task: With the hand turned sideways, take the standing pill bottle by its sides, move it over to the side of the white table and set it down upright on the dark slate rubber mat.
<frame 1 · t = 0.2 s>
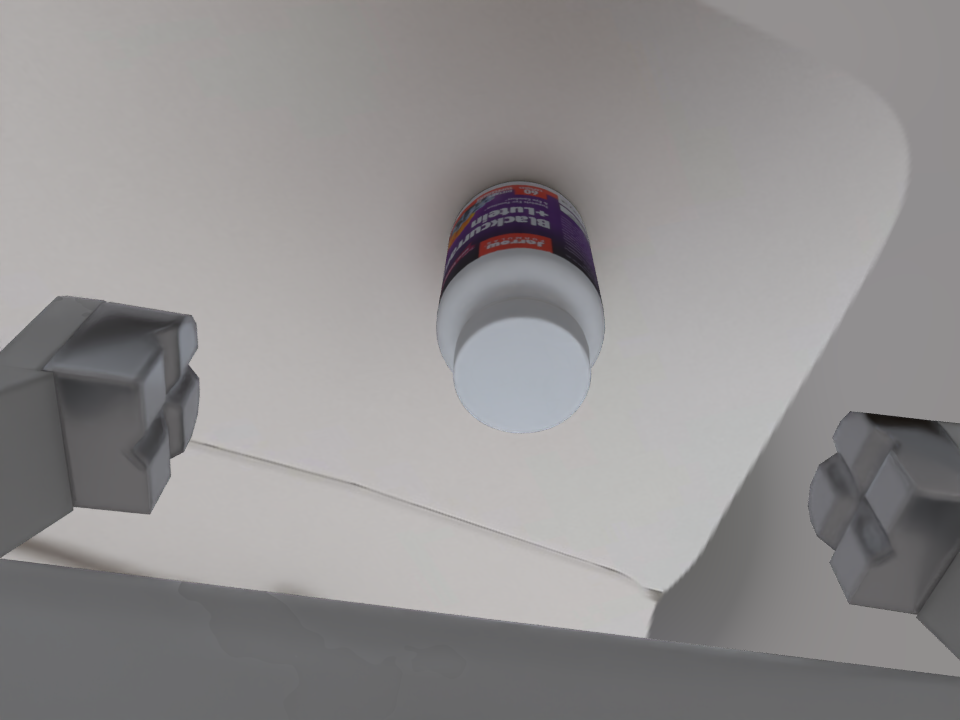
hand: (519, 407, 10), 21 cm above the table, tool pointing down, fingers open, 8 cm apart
pill bottle: (517, 242, 32), on the table
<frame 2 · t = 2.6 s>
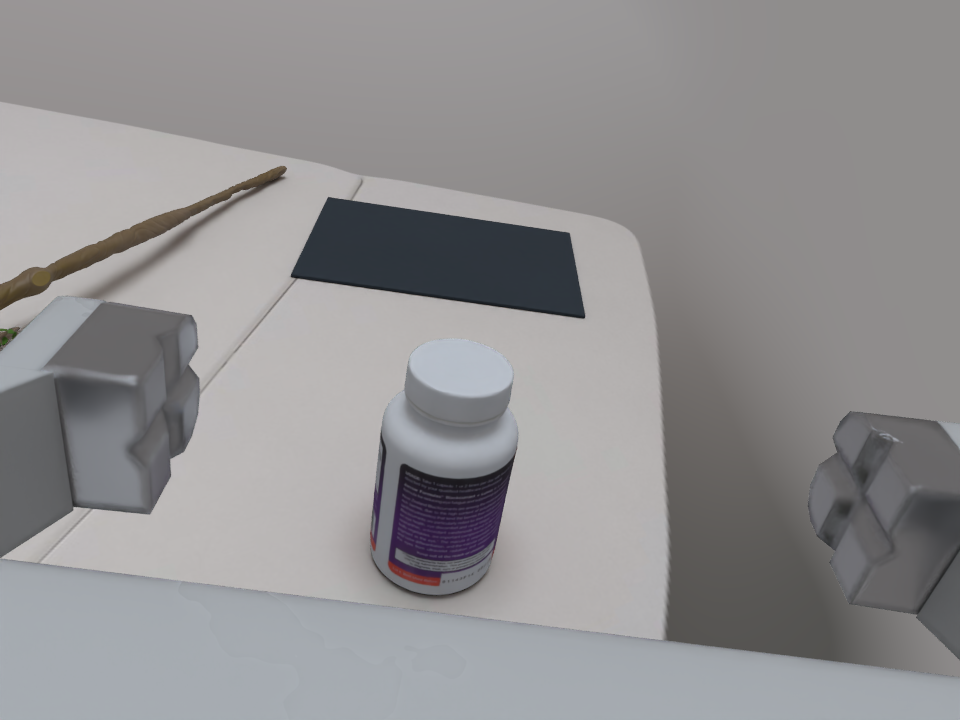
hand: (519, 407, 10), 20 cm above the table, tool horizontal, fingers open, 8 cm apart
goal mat: (445, 253, 60), on the table
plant: (143, 273, 52), on the table
pill bottle: (430, 553, 35), on the table
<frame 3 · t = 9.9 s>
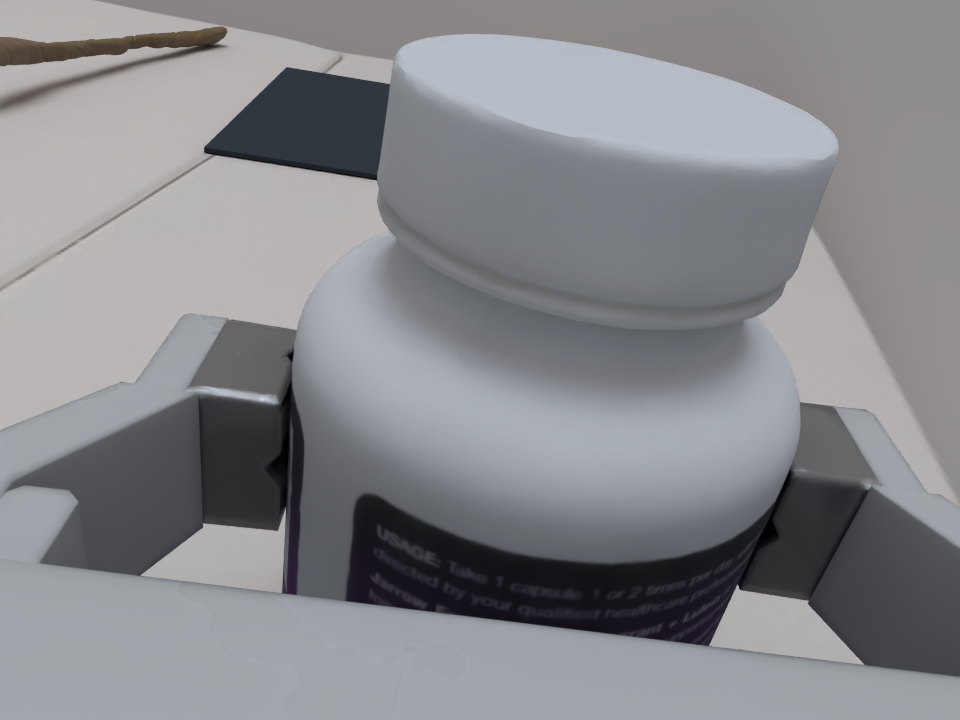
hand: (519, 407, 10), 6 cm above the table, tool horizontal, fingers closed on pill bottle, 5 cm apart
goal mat: (466, 139, 38), on the table
when the fingers open (6 cm above the table, at t = 20.2 s): pill bottle stays where it is, resting on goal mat.
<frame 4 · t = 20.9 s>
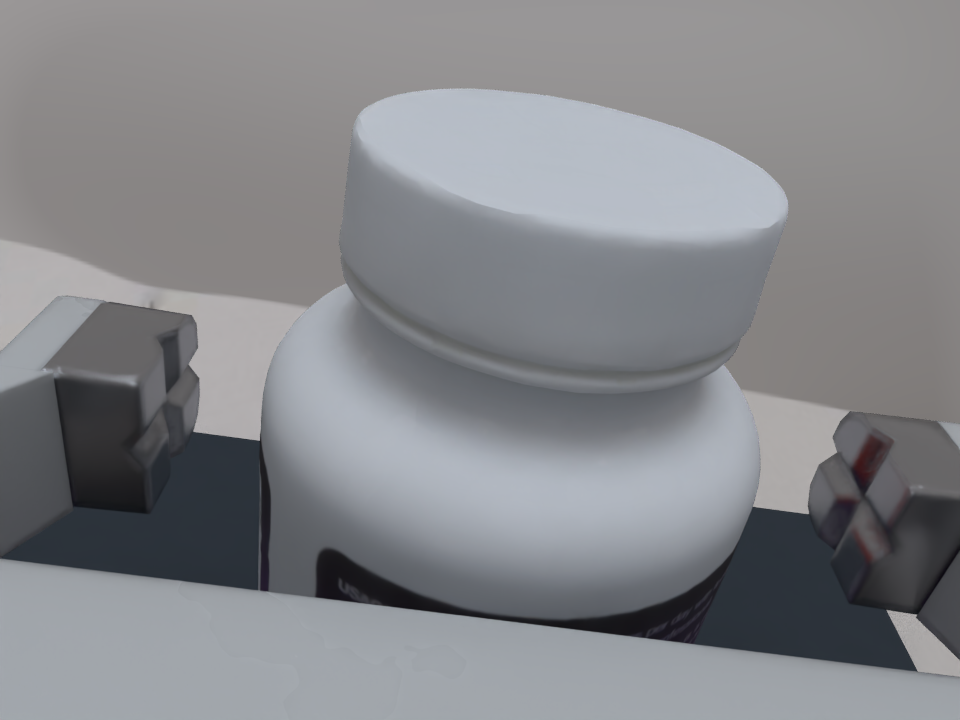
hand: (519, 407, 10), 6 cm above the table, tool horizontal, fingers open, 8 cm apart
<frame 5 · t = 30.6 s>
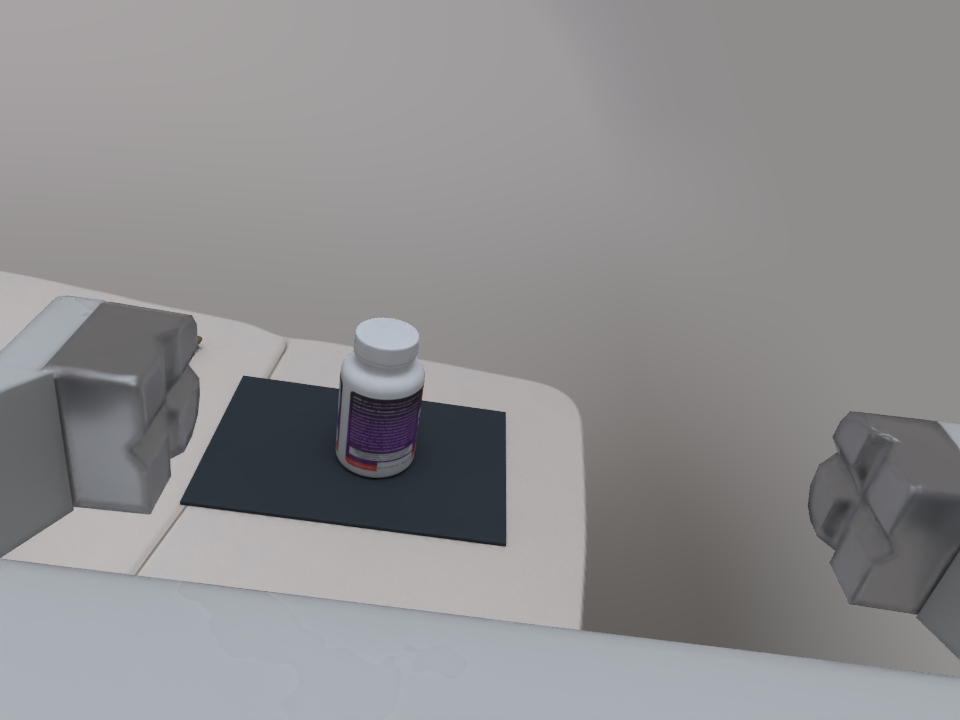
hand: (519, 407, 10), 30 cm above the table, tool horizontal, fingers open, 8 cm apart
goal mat: (361, 453, 55), on the table
pill bottle: (374, 456, 55), resting on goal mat
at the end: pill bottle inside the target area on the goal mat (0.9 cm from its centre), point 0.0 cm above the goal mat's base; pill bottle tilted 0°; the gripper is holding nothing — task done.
